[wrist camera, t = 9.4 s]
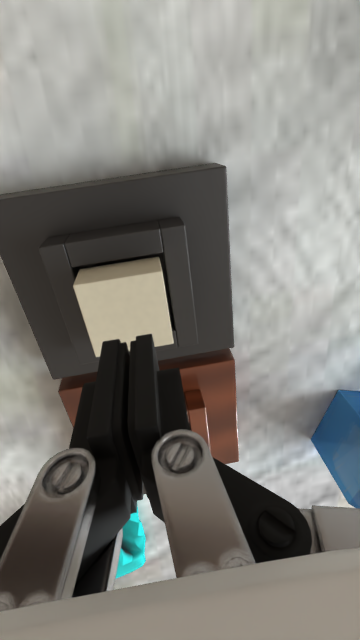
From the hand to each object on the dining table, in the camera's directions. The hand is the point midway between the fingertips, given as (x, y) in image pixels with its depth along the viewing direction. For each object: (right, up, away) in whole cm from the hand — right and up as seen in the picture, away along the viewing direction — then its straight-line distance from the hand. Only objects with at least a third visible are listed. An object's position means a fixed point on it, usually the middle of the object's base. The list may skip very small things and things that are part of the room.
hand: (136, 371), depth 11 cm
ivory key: (-1, +3, +6) cm, 7 cm away
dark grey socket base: (-2, +5, +9) cm, 10 cm away
